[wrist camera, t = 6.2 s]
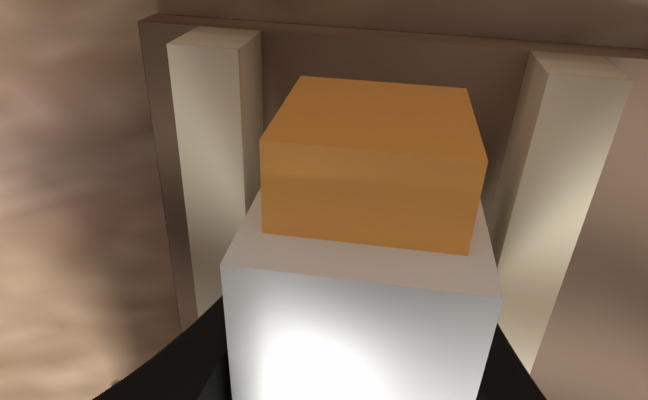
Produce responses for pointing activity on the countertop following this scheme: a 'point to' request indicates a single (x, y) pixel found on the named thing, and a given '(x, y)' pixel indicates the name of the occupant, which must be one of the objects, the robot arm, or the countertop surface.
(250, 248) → the white tall block
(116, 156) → the countertop surface
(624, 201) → the board
